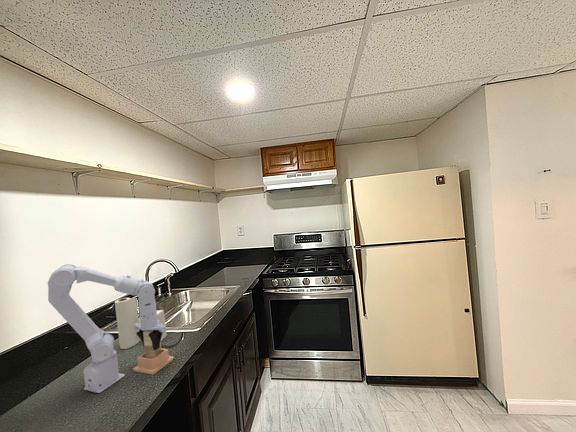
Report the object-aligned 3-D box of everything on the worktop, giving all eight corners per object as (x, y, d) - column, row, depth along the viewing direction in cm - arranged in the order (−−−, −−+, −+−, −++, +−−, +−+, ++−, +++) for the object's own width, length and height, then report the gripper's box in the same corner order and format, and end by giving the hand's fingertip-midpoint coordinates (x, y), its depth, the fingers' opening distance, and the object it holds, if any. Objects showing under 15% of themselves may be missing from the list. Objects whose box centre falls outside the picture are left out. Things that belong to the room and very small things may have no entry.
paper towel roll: (117, 350, 117) (111, 302, 116) (124, 343, 123) (118, 298, 122) (134, 348, 118) (129, 300, 117) (140, 341, 124) (135, 296, 123)
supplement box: (167, 335, 127) (164, 309, 127) (158, 343, 120) (155, 316, 119) (152, 336, 128) (149, 310, 127) (143, 344, 120) (139, 317, 120)
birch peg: (153, 359, 100) (150, 332, 100) (145, 357, 102) (143, 332, 101) (161, 353, 104) (159, 328, 104) (154, 352, 105) (151, 327, 105)
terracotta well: (153, 374, 96) (151, 362, 96) (133, 371, 100) (131, 359, 100) (174, 359, 106) (172, 348, 105) (155, 356, 109) (154, 345, 109)
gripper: (170, 310, 103) (174, 344, 104) (143, 308, 108) (147, 341, 109) (155, 318, 96) (160, 354, 97) (127, 315, 102) (131, 350, 102)
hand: (152, 348), depth 102 cm, fingers closed on birch peg, 4 cm apart
